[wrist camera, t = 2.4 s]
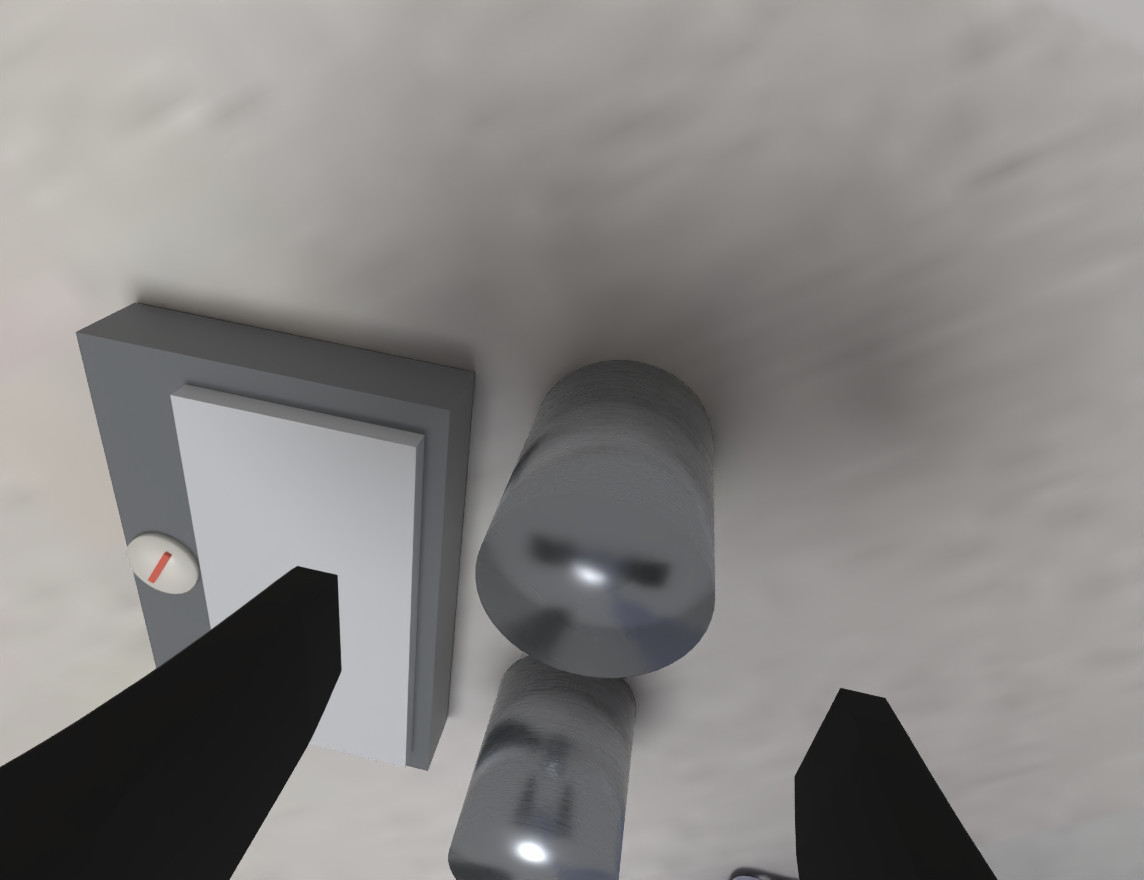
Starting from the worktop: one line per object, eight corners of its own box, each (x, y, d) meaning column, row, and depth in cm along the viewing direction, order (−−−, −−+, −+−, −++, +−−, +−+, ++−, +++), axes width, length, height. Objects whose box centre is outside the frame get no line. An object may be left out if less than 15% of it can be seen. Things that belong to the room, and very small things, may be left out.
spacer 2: (648, 670, 20) (632, 850, 15) (622, 758, 22) (601, 938, 18) (506, 638, 20) (452, 806, 16) (494, 728, 22) (444, 898, 18)
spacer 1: (733, 381, 15) (743, 524, 11) (689, 529, 17) (684, 699, 13) (547, 343, 15) (484, 469, 11) (526, 494, 17) (467, 648, 13)
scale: (475, 372, 16) (442, 422, 14) (447, 718, 22) (421, 786, 20) (135, 302, 16) (57, 341, 14) (202, 660, 23) (154, 721, 21)
